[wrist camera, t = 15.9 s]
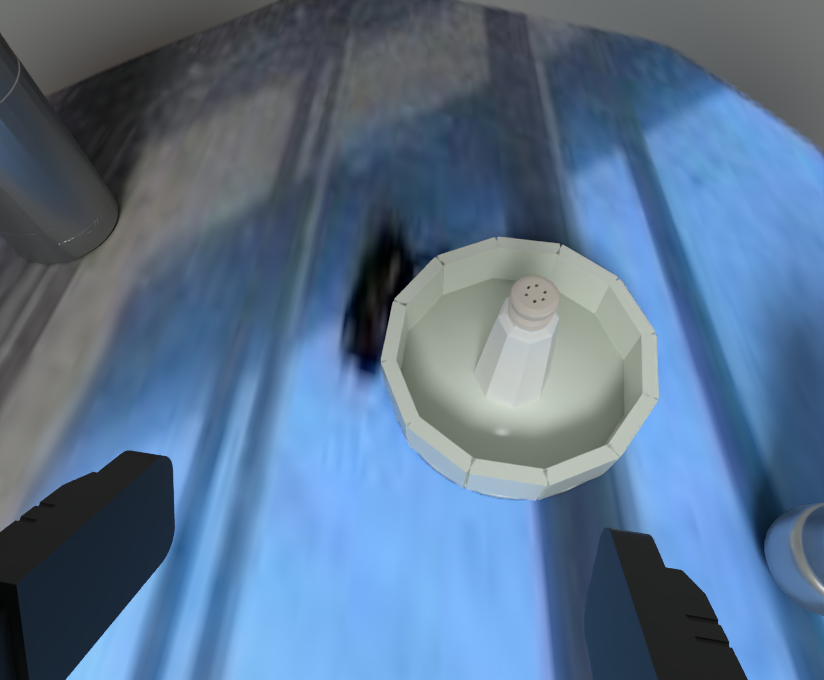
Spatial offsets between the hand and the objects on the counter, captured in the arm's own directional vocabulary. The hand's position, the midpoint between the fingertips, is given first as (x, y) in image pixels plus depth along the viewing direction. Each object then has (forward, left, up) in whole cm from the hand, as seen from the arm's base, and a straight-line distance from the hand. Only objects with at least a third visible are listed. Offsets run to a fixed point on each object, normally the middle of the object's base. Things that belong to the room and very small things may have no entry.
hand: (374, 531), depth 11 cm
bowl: (-4, +17, -29) cm, 34 cm away
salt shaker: (-4, +17, -28) cm, 33 cm away
